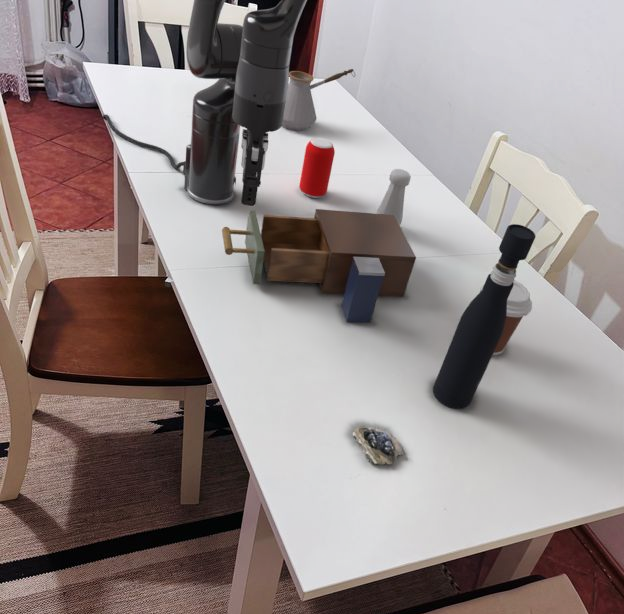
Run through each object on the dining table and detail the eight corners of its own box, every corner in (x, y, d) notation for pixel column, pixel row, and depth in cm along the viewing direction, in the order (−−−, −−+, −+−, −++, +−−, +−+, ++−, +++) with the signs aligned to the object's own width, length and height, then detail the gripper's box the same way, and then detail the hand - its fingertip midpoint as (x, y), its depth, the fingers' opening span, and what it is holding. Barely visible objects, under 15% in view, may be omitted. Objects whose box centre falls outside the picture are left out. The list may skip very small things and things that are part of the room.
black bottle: (429, 378, 106) (492, 215, 88) (466, 382, 107) (537, 222, 89) (436, 407, 101) (504, 240, 83) (475, 411, 103) (551, 248, 84)
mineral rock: (380, 475, 89) (384, 466, 88) (338, 439, 92) (341, 430, 91) (410, 451, 93) (414, 442, 92) (369, 418, 97) (372, 409, 95)
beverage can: (320, 203, 144) (330, 151, 137) (294, 193, 145) (302, 141, 137) (329, 192, 149) (340, 142, 141) (304, 183, 150) (313, 133, 142)
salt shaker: (396, 237, 140) (413, 181, 131) (371, 229, 140) (385, 173, 132) (401, 225, 144) (417, 170, 136) (375, 217, 144) (390, 162, 136)
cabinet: (321, 293, 118) (331, 252, 113) (307, 248, 129) (315, 208, 123) (403, 296, 123) (416, 257, 117) (383, 252, 134) (394, 214, 128)
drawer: (224, 283, 113) (228, 249, 108) (218, 240, 123) (221, 207, 118) (333, 287, 119) (341, 255, 114) (319, 246, 128) (326, 215, 124)
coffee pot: (282, 134, 168) (291, 74, 159) (264, 115, 175) (272, 57, 166) (353, 133, 178) (366, 77, 169) (334, 115, 185) (344, 61, 176)
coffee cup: (459, 323, 120) (480, 268, 113) (506, 332, 121) (531, 279, 113) (463, 355, 113) (487, 299, 106) (514, 364, 114) (541, 310, 106)
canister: (340, 306, 116) (353, 256, 110) (364, 306, 118) (378, 257, 111) (346, 322, 113) (359, 271, 107) (370, 322, 115) (385, 273, 108)
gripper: (236, 70, 100) (226, 168, 111) (233, 105, 90) (223, 210, 100) (285, 79, 102) (271, 174, 112) (287, 114, 91) (272, 216, 102)
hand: (248, 191), depth 106 cm, fingers open, 8 cm apart
